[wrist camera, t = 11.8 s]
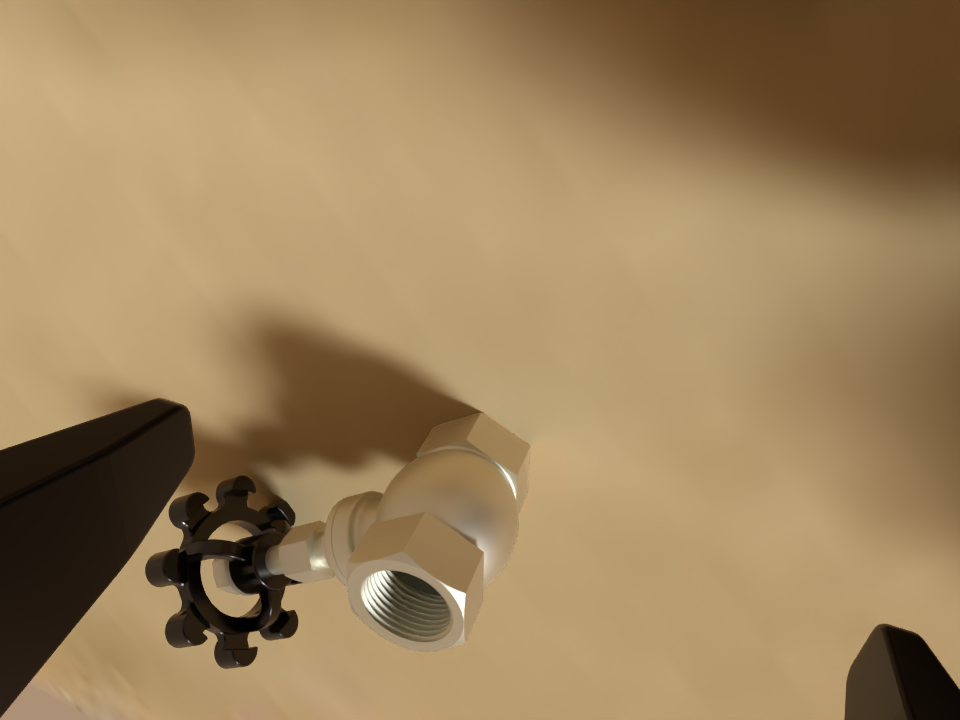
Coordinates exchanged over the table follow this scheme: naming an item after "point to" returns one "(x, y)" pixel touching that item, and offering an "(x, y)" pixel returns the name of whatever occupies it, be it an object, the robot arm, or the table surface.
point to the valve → (360, 547)
